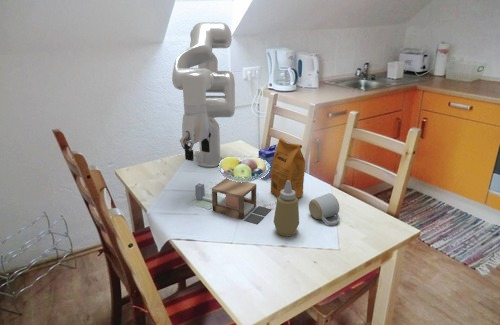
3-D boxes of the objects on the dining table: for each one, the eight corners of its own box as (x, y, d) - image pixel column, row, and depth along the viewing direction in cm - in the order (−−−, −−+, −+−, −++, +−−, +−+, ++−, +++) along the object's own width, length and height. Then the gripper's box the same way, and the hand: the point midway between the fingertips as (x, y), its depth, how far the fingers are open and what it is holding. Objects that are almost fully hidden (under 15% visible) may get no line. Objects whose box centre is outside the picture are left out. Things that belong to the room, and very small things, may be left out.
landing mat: (189, 203, 130) (189, 203, 130) (204, 192, 138) (204, 192, 138) (209, 209, 126) (209, 209, 126) (224, 198, 134) (224, 197, 134)
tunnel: (212, 211, 125) (211, 188, 122) (227, 198, 134) (227, 177, 130) (242, 219, 120) (242, 196, 117) (256, 206, 129) (256, 183, 125)
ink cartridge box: (265, 180, 149) (266, 148, 143) (257, 176, 153) (257, 145, 147) (282, 174, 155) (283, 143, 149) (273, 170, 159) (274, 140, 153)
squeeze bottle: (291, 242, 108) (294, 189, 101) (268, 234, 112) (270, 182, 105) (302, 229, 115) (306, 179, 108) (280, 222, 119) (282, 173, 112)
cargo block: (225, 205, 126) (225, 194, 124) (232, 200, 129) (232, 189, 128) (236, 208, 124) (236, 197, 122) (243, 203, 127) (243, 192, 126)
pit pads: (244, 220, 120) (244, 220, 119) (258, 206, 129) (258, 205, 128) (257, 224, 117) (257, 223, 117) (271, 209, 126) (271, 209, 126)
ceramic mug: (306, 214, 124) (307, 194, 121) (324, 208, 127) (326, 189, 124) (325, 229, 115) (328, 208, 112) (345, 222, 119) (347, 203, 116)
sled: (192, 201, 131) (191, 188, 129) (203, 193, 137) (202, 180, 135) (244, 216, 121) (244, 202, 119) (253, 207, 127) (254, 193, 125)
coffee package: (285, 185, 145) (287, 134, 136) (306, 197, 135) (310, 142, 127) (266, 191, 139) (267, 138, 131) (286, 204, 130) (289, 148, 122)
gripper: (201, 102, 129) (203, 147, 135) (170, 113, 115) (174, 161, 121) (218, 105, 126) (219, 150, 132) (188, 115, 112) (191, 165, 118)
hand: (197, 155), depth 127 cm, fingers open, 9 cm apart
